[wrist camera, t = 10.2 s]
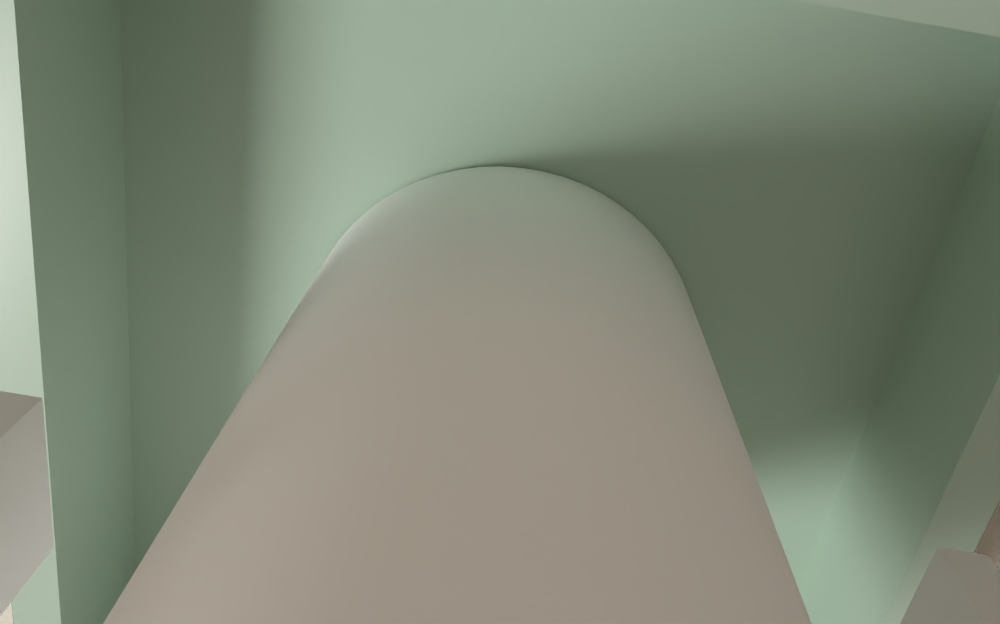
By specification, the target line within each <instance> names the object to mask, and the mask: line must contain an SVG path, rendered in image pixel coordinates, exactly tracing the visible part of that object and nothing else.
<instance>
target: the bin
mask: <svg viewBox="0 0 1000 624" xmlns="http://www.w3.org/2000/svg"><path fill="white" fill-rule="evenodd" d="M497 166H502V167H517V168H526V169H532V170H538V171H543V172H547V173H551V174H555V175H558V176H562V177H565V178H568V179H570V180H573V181H576V182H578V183H581V184H583V185H585V186H588V187H590V188H592V189H594V190H596V191H598V192H600V193H602V194H603V195H605V196H606V197H608V198H610V199H611V200H613V201H614V202H616V203H618V204H619V205H620V206H622V207H623V208H624V209H626V210H627V211H628V212H629V213H631V214H632V215H633V216H635V217H636V218H637V219H638V220H639V221H640V222H641V223H642V224H643V225H644V226H645V227H646V228H647V229H648V230H649V231H650V232H651V233H652V235H653V236H654V237H655V238H656V239H657V240H658V242H659V243H660V244H661V245H662V247H663V248H664V250H665V251H666V252H667V254H668V255H669V257H670V258H671V260H672V261H673V263H674V265H675V267H676V269H677V271H678V273H679V274H680V276H681V279H682V281H683V284H684V286H685V289H686V291H687V294H688V296H689V299H690V302H691V304H692V307H693V310H694V312H695V315H696V317H697V320H698V323H699V325H700V328H701V331H702V333H703V336H704V339H705V341H706V344H707V347H708V349H709V352H710V355H711V357H712V360H713V363H714V365H715V368H716V371H717V373H718V376H719V379H720V381H721V384H722V387H723V389H724V392H725V395H726V397H727V400H728V403H729V405H730V408H731V411H732V413H733V416H734V419H735V421H736V424H737V427H738V429H739V432H740V434H741V437H742V440H743V442H744V445H745V448H746V450H747V453H748V456H749V458H750V461H751V464H752V466H753V469H754V472H755V474H756V477H757V480H758V482H759V485H760V488H761V490H762V493H763V496H764V498H765V501H766V504H767V506H768V509H769V512H770V514H771V517H772V520H773V522H774V525H775V528H776V530H777V533H778V536H779V538H780V541H781V544H782V546H783V549H784V552H785V554H786V557H787V559H788V562H789V565H790V567H791V570H792V573H793V575H794V578H795V581H796V583H797V586H798V589H799V591H800V594H801V597H802V599H803V602H804V605H805V607H806V610H807V613H808V615H809V618H810V621H811V623H812V624H900V623H901V621H902V619H903V617H904V615H905V613H906V611H907V609H908V606H909V604H910V602H911V600H912V598H913V596H914V594H915V592H916V590H917V588H918V586H919V584H920V582H921V580H922V577H923V575H924V573H925V571H926V569H927V567H928V565H929V563H930V561H931V559H932V557H933V555H934V553H935V551H936V548H937V547H942V548H948V549H954V550H960V551H966V552H972V553H974V551H975V549H976V547H977V545H978V543H979V541H980V539H981V537H982V535H983V533H984V531H985V529H986V527H987V525H988V523H989V521H990V519H991V517H992V515H993V513H994V511H995V509H996V507H997V506H998V504H999V502H1000V0H0V391H4V392H10V393H16V394H22V395H28V396H34V397H40V398H42V399H43V412H44V425H45V438H46V451H47V464H48V477H49V490H50V503H51V516H52V529H53V542H54V548H53V549H52V550H51V552H50V553H49V554H48V556H47V557H46V558H45V559H44V561H43V562H42V563H41V565H40V566H39V567H38V568H37V570H36V571H35V572H34V574H33V575H32V576H31V577H30V579H29V580H28V581H27V582H26V584H25V585H24V586H23V588H22V589H21V590H20V591H19V593H18V594H17V595H16V597H15V598H14V599H13V600H12V602H11V606H12V615H13V624H103V623H104V621H105V620H106V618H107V616H108V615H109V613H110V612H111V610H112V608H113V607H114V605H115V603H116V602H117V600H118V598H119V597H120V595H121V594H122V592H123V590H124V589H125V587H126V585H127V584H128V582H129V580H130V579H131V577H132V576H133V574H134V572H135V571H136V569H137V567H138V566H139V564H140V563H141V561H142V559H143V558H144V556H145V554H146V553H147V551H148V549H149V548H150V546H151V545H152V543H153V541H154V540H155V538H156V536H157V535H158V533H159V531H160V530H161V528H162V527H163V525H164V523H165V522H166V520H167V518H168V517H169V515H170V513H171V512H172V510H173V509H174V507H175V505H176V504H177V502H178V500H179V499H180V497H181V495H182V494H183V492H184V491H185V489H186V487H187V486H188V484H189V482H190V481H191V479H192V478H193V476H194V474H195V473H196V471H197V469H198V468H199V466H200V464H201V463H202V461H203V460H204V458H205V456H206V455H207V453H208V451H209V450H210V448H211V446H212V445H213V443H214V442H215V440H216V438H217V437H218V435H219V433H220V432H221V430H222V428H223V427H224V425H225V424H226V422H227V420H228V419H229V417H230V415H231V414H232V412H233V411H234V409H235V407H236V406H237V404H238V402H239V401H240V399H241V397H242V396H243V394H244V393H245V391H246V389H247V388H248V386H249V384H250V383H251V381H252V379H253V378H254V376H255V375H256V373H257V371H258V370H259V368H260V366H261V365H262V363H263V361H264V360H265V358H266V357H267V355H268V353H269V352H270V350H271V348H272V347H273V345H274V344H275V342H276V340H277V339H278V337H279V335H280V334H281V332H282V330H283V329H284V327H285V326H286V324H287V322H288V321H289V319H290V317H291V316H292V314H293V312H294V311H295V309H296V308H297V306H298V304H299V303H300V301H301V299H302V298H303V296H304V294H305V293H306V291H307V290H308V288H309V286H310V285H311V283H312V281H313V280H314V278H315V277H316V275H317V273H318V272H319V270H320V268H321V267H322V265H323V263H324V262H325V260H326V259H327V257H328V255H329V254H330V252H331V251H332V249H333V248H334V246H335V245H336V244H337V242H338V241H339V239H340V238H341V237H342V236H343V235H344V233H345V232H346V231H347V230H348V229H349V228H350V227H351V226H352V225H353V223H354V222H356V221H357V220H358V219H359V218H360V217H361V216H362V215H363V214H365V213H366V212H367V211H368V210H369V209H371V208H372V207H373V206H375V205H376V204H377V203H379V202H380V201H382V200H383V199H384V198H386V197H388V196H390V195H391V194H393V193H395V192H397V191H398V190H400V189H402V188H404V187H406V186H409V185H411V184H413V183H415V182H418V181H420V180H423V179H426V178H429V177H432V176H435V175H438V174H442V173H446V172H451V171H455V170H460V169H468V168H476V167H497Z"/></svg>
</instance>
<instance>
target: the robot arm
mask: <svg viewBox="0 0 1000 624" xmlns="http://www.w3.org/2000/svg"><path fill="white" fill-rule="evenodd" d="M53 548H54V542H53V529H52V516H51V503H50V490H49V477H48V464H47V451H46V438H45V425H44V412H43V399H42V398H40V397H34V396H28V395H22V394H16V393H10V392H4V391H0V616H1V615H2V613H3V612H4V611H5V609H6V608H7V607H8V606H9V604H10V603H11V602H12V600H13V599H14V598H15V597H16V595H17V594H18V593H19V591H20V590H21V589H22V588H23V586H24V585H25V584H26V582H27V581H28V580H29V579H30V577H31V576H32V575H33V574H34V572H35V571H36V570H37V568H38V567H39V566H40V565H41V563H42V562H43V561H44V559H45V558H46V557H47V556H48V554H49V553H50V552H51V550H52V549H53ZM900 624H1000V571H999V570H998V568H997V567H996V566H995V564H994V563H993V561H992V560H991V558H990V557H989V555H984V554H978V553H972V552H966V551H960V550H954V549H948V548H942V547H937V548H936V551H935V553H934V555H933V557H932V559H931V561H930V563H929V565H928V567H927V569H926V571H925V573H924V575H923V577H922V580H921V582H920V584H919V586H918V588H917V590H916V592H915V594H914V596H913V598H912V600H911V602H910V604H909V606H908V609H907V611H906V613H905V615H904V617H903V619H902V621H901V623H900Z"/></svg>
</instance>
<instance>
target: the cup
mask: <svg viewBox="0 0 1000 624" xmlns="http://www.w3.org/2000/svg"><path fill="white" fill-rule="evenodd" d="M103 624H812V623H811V621H810V618H809V615H808V613H807V610H806V607H805V605H804V602H803V599H802V597H801V594H800V591H799V589H798V586H797V583H796V581H795V578H794V575H793V573H792V570H791V567H790V565H789V562H788V559H787V557H786V554H785V552H784V549H783V546H782V544H781V541H780V538H779V536H778V533H777V530H776V528H775V525H774V522H773V520H772V517H771V514H770V512H769V509H768V506H767V504H766V501H765V498H764V496H763V493H762V490H761V488H760V485H759V482H758V480H757V477H756V474H755V472H754V469H753V466H752V464H751V461H750V458H749V456H748V453H747V450H746V448H745V445H744V442H743V440H742V437H741V434H740V432H739V429H738V427H737V424H736V421H735V419H734V416H733V413H732V411H731V408H730V405H729V403H728V400H727V397H726V395H725V392H724V389H723V387H722V384H721V381H720V379H719V376H718V373H717V371H716V368H715V365H714V363H713V360H712V357H711V355H710V352H709V349H708V347H707V344H706V341H705V339H704V336H703V333H702V331H701V328H700V325H699V323H698V320H697V317H696V315H695V312H694V310H693V307H692V304H691V302H690V299H689V296H688V294H687V291H686V289H685V286H684V284H683V281H682V279H681V276H680V274H679V273H678V271H677V269H676V267H675V265H674V263H673V261H672V260H671V258H670V257H669V255H668V254H667V252H666V251H665V250H664V248H663V247H662V245H661V244H660V243H659V242H658V240H657V239H656V238H655V237H654V236H653V235H652V233H651V232H650V231H649V230H648V229H647V228H646V227H645V226H644V225H643V224H642V223H641V222H640V221H639V220H638V219H637V218H636V217H635V216H633V215H632V214H631V213H629V212H628V211H627V210H626V209H624V208H623V207H622V206H620V205H619V204H618V203H616V202H614V201H613V200H611V199H610V198H608V197H606V196H605V195H603V194H602V193H600V192H598V191H596V190H594V189H592V188H590V187H588V186H585V185H583V184H581V183H578V182H576V181H573V180H570V179H568V178H565V177H562V176H558V175H555V174H551V173H547V172H543V171H538V170H532V169H526V168H517V167H502V166H497V167H476V168H468V169H460V170H455V171H451V172H446V173H442V174H438V175H435V176H432V177H429V178H426V179H423V180H420V181H418V182H415V183H413V184H411V185H409V186H406V187H404V188H402V189H400V190H398V191H397V192H395V193H393V194H391V195H390V196H388V197H386V198H384V199H383V200H382V201H380V202H379V203H377V204H376V205H375V206H373V207H372V208H371V209H369V210H368V211H367V212H366V213H365V214H363V215H362V216H361V217H360V218H359V219H358V220H357V221H356V222H354V223H353V225H352V226H351V227H350V228H349V229H348V230H347V231H346V232H345V233H344V235H343V236H342V237H341V238H340V239H339V241H338V242H337V244H336V245H335V246H334V248H333V249H332V251H331V252H330V254H329V255H328V257H327V259H326V260H325V262H324V263H323V265H322V267H321V268H320V270H319V272H318V273H317V275H316V277H315V278H314V280H313V281H312V283H311V285H310V286H309V288H308V290H307V291H306V293H305V294H304V296H303V298H302V299H301V301H300V303H299V304H298V306H297V308H296V309H295V311H294V312H293V314H292V316H291V317H290V319H289V321H288V322H287V324H286V326H285V327H284V329H283V330H282V332H281V334H280V335H279V337H278V339H277V340H276V342H275V344H274V345H273V347H272V348H271V350H270V352H269V353H268V355H267V357H266V358H265V360H264V361H263V363H262V365H261V366H260V368H259V370H258V371H257V373H256V375H255V376H254V378H253V379H252V381H251V383H250V384H249V386H248V388H247V389H246V391H245V393H244V394H243V396H242V397H241V399H240V401H239V402H238V404H237V406H236V407H235V409H234V411H233V412H232V414H231V415H230V417H229V419H228V420H227V422H226V424H225V425H224V427H223V428H222V430H221V432H220V433H219V435H218V437H217V438H216V440H215V442H214V443H213V445H212V446H211V448H210V450H209V451H208V453H207V455H206V456H205V458H204V460H203V461H202V463H201V464H200V466H199V468H198V469H197V471H196V473H195V474H194V476H193V478H192V479H191V481H190V482H189V484H188V486H187V487H186V489H185V491H184V492H183V494H182V495H181V497H180V499H179V500H178V502H177V504H176V505H175V507H174V509H173V510H172V512H171V513H170V515H169V517H168V518H167V520H166V522H165V523H164V525H163V527H162V528H161V530H160V531H159V533H158V535H157V536H156V538H155V540H154V541H153V543H152V545H151V546H150V548H149V549H148V551H147V553H146V554H145V556H144V558H143V559H142V561H141V563H140V564H139V566H138V567H137V569H136V571H135V572H134V574H133V576H132V577H131V579H130V580H129V582H128V584H127V585H126V587H125V589H124V590H123V592H122V594H121V595H120V597H119V598H118V600H117V602H116V603H115V605H114V607H113V608H112V610H111V612H110V613H109V615H108V616H107V618H106V620H105V621H104V623H103Z"/></svg>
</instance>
